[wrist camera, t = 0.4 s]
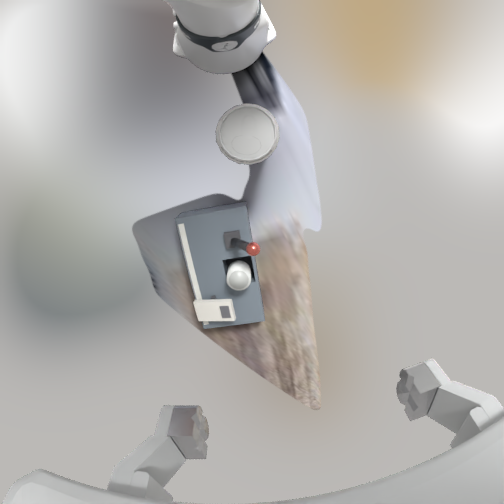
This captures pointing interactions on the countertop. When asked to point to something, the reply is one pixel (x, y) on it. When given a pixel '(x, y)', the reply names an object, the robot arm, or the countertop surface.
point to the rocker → (215, 310)
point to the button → (239, 275)
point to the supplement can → (247, 134)
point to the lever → (246, 246)
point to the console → (220, 259)
